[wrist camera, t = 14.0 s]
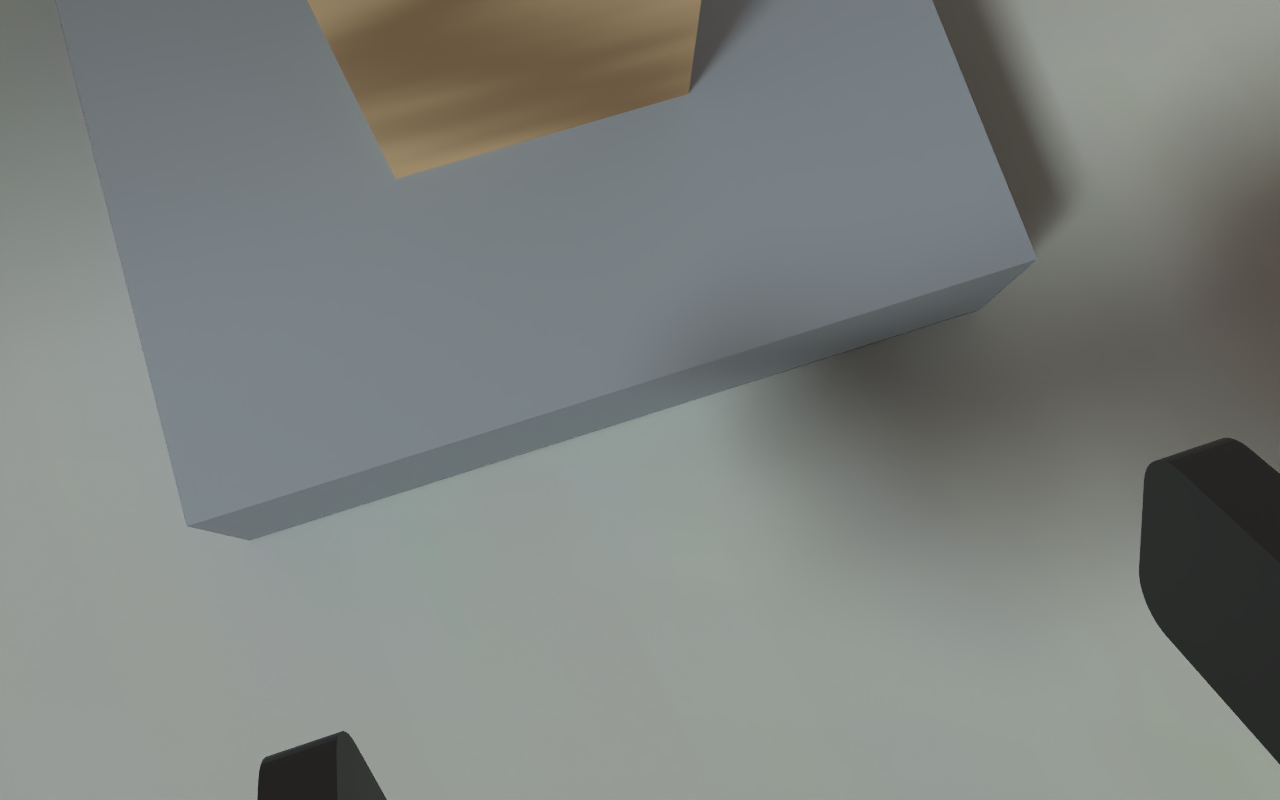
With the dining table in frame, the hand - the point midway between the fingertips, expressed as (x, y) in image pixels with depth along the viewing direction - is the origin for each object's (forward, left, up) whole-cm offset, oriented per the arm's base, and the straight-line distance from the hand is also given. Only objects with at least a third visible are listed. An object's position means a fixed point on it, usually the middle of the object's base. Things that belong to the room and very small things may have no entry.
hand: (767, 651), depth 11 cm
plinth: (0, +11, -9) cm, 14 cm away
